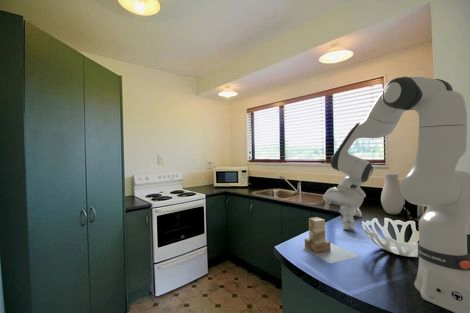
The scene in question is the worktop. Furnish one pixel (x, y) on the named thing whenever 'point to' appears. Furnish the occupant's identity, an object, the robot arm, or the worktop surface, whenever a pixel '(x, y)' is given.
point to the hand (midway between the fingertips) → (333, 210)
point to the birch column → (317, 229)
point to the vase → (392, 194)
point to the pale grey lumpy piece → (355, 212)
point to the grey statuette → (348, 219)
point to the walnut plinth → (317, 246)
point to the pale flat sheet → (334, 254)
